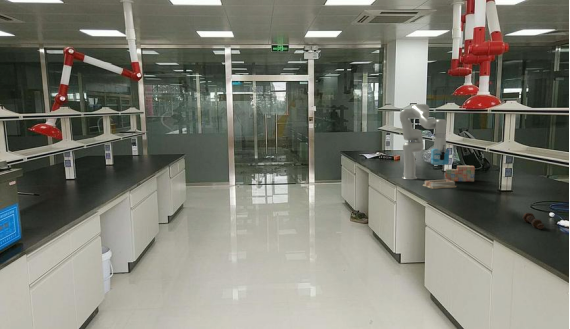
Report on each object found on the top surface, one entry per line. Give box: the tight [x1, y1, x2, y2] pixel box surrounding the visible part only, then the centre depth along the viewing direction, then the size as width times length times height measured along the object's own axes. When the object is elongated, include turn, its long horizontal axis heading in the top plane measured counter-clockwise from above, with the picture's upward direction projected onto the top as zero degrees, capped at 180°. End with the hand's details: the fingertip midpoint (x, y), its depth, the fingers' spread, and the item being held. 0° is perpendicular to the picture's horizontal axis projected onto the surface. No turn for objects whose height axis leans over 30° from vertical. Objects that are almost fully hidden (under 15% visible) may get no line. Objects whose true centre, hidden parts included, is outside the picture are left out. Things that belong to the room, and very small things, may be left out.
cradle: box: [422, 178, 457, 190], centre depth 316 cm, size 14×20×4 cm
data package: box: [430, 148, 450, 166], centre depth 313 cm, size 12×4×12 cm, turn 88°
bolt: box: [522, 212, 545, 230], centre depth 208 cm, size 6×5×15 cm
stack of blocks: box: [444, 165, 476, 182], centre depth 338 cm, size 21×6×12 cm, turn 78°
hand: (439, 159), depth 314 cm, fingers closed on data package, 5 cm apart
